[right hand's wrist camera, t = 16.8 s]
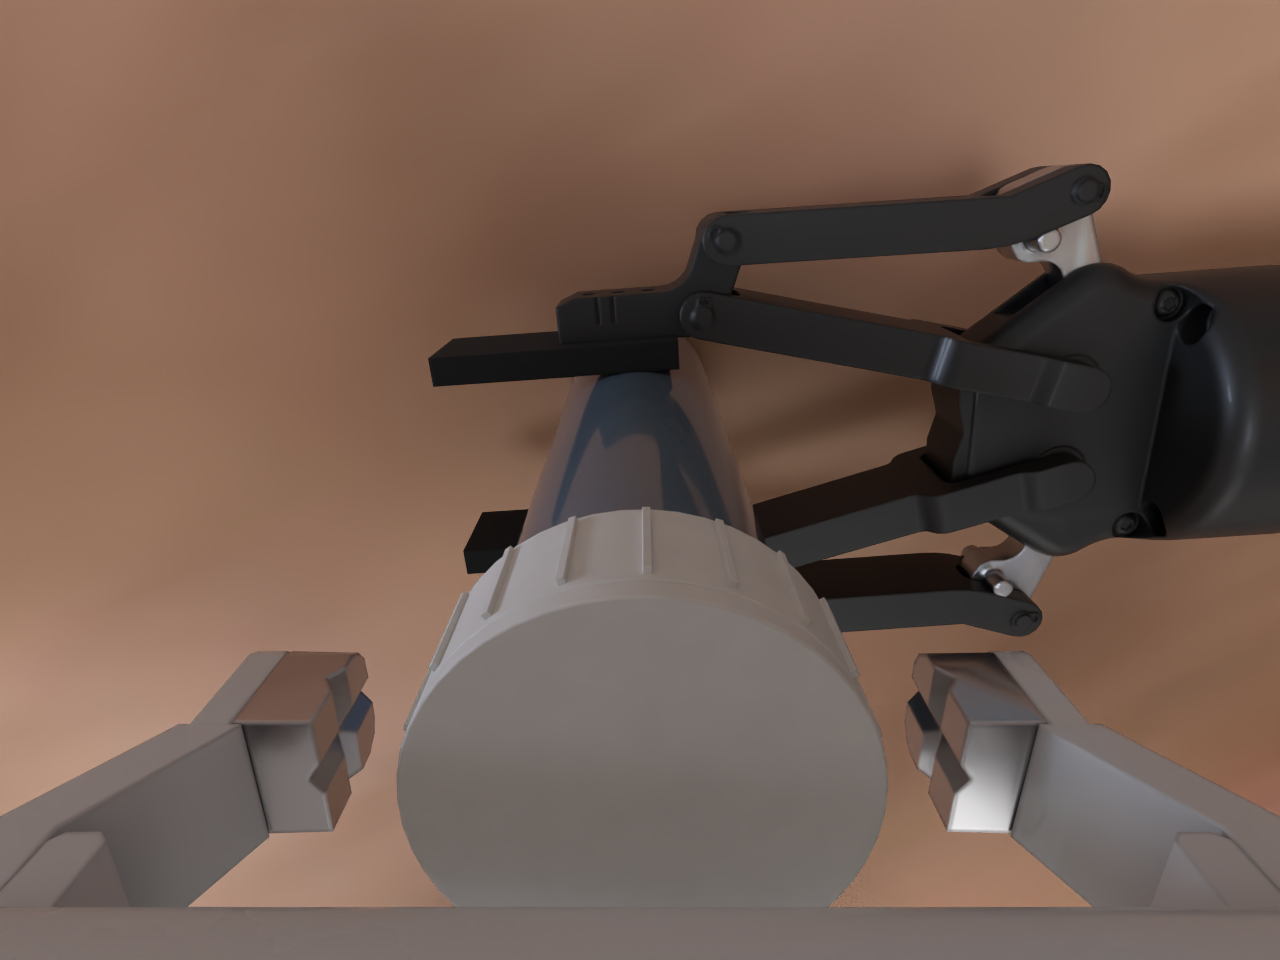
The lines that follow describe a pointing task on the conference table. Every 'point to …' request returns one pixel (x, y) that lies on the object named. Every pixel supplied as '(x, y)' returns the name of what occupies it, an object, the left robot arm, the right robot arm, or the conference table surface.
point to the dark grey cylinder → (642, 451)
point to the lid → (642, 728)
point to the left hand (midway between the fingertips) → (461, 455)
